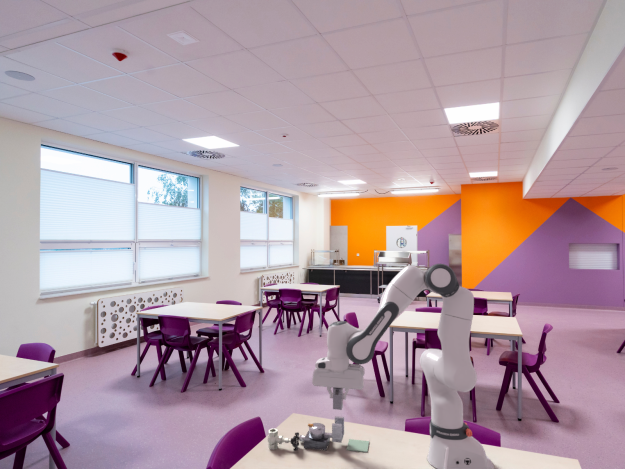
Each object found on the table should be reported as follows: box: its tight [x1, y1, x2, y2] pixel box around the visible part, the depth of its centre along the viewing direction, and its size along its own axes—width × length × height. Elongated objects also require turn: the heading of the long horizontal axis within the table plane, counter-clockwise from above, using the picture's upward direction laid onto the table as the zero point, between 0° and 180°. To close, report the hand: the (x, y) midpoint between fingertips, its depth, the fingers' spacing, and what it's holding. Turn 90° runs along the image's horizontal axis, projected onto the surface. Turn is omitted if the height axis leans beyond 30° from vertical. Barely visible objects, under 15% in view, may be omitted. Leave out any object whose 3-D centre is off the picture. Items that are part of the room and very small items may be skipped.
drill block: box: [299, 430, 331, 451], centre depth 156 cm, size 12×8×3 cm
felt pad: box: [346, 438, 370, 453], centre depth 154 cm, size 8×8×1 cm
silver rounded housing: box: [307, 416, 345, 444], centre depth 155 cm, size 14×8×7 cm, turn 77°
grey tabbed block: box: [332, 387, 344, 411], centre depth 154 cm, size 3×6×8 cm, turn 167°
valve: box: [267, 428, 300, 452], centre depth 153 cm, size 7×7×12 cm
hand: (337, 398), depth 154 cm, fingers closed on grey tabbed block, 3 cm apart
